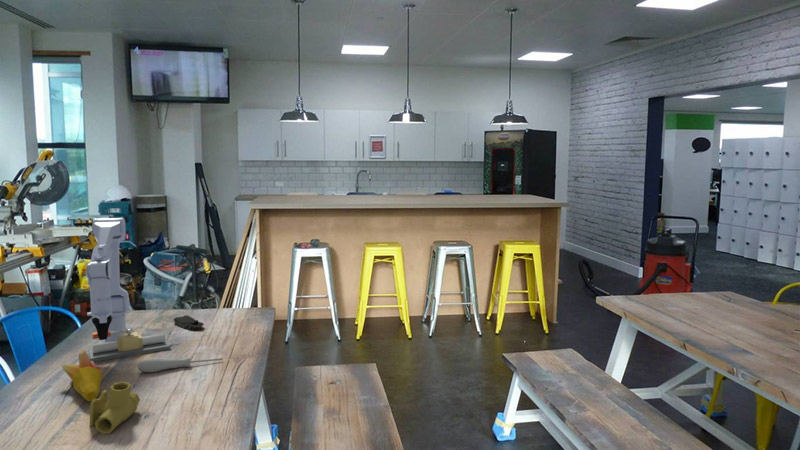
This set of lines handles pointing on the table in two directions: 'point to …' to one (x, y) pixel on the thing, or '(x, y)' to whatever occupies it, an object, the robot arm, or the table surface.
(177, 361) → the screwdriver
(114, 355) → the valve stand
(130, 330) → the valve lever
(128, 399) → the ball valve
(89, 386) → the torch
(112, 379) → the table surface
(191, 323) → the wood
